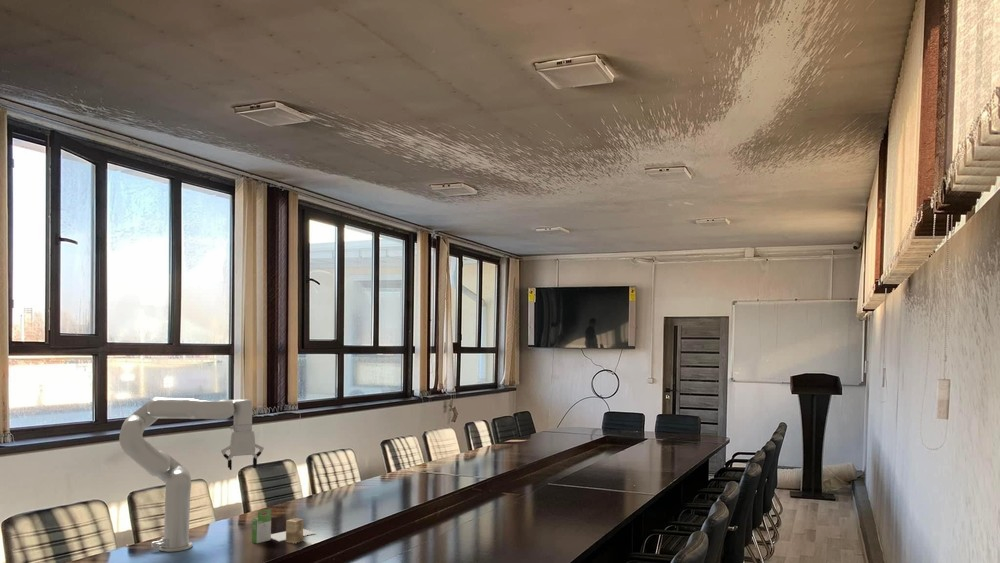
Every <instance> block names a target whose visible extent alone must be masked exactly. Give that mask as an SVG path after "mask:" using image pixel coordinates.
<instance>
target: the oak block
mask: <svg viewBox="0 0 1000 563" xmlns="http://www.w3.org/2000/svg"><path fill="white" fill-rule="evenodd" d="M285 525H286V526H285V531H286V540H285V542H286V543H289V544H294V543H295V544H298V543H300V541H301V542H304V537H303V529H304V519H302V518H297V517H294V518H291V519H286V523H285ZM297 542H298V543H297Z"/></svg>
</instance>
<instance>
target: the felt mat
mask: <svg viewBox="0 0 1000 563" xmlns="http://www.w3.org/2000/svg"><path fill="white" fill-rule="evenodd" d="M315 533H316V532H314V531H311V530H308V529H306V528H303V536H304V537H308V536H307V535H309V536H312V535H311V534H314V535H316V534H315ZM271 540H274V541H277V542H278V543H280V542H284V541H285V542H286V530H285V531H280V532H276V533H271Z"/></svg>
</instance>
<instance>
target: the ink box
mask: <svg viewBox="0 0 1000 563" xmlns="http://www.w3.org/2000/svg"><path fill="white" fill-rule="evenodd" d="M263 513H265V514H263ZM266 513H267V514H266ZM271 534H272V508H268V509H263V510H258V511H257V517H253V518H252V526H251V542H252V544H261V543H265V542H268V541H271V540H272V539H271Z"/></svg>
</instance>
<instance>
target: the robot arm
mask: <svg viewBox="0 0 1000 563" xmlns="http://www.w3.org/2000/svg"><path fill="white" fill-rule="evenodd" d="M232 416H233V425H230V426H229V430H232V431H231V436H230V440H229V441H230V442H229V445H228V446H226V447H224V448H223V449H221V450H220V452H221V454H222V456H223V457H224V458H225V460H227V468H228V469H229V470H230V471H231V470H232V466H233V463H232V462H233V461H232V458H233V457H238V456H252V457H253V458H252V468H253V469H256V466H258V458H259V457H260V456H261V454H262V453H263V450H264V449H265V448H264V447H263V446H261V445H259V444H257V443H256V437H255V436H256V435H255V431H254V430H253V401H252V400H251V399H250V398H241V399H220V400H200V399H196V398H192V397H162V396H154V397H152V398H151V399H149V400H148V401H147V402H145V404H143V405H141V407H139V408H138V409H136V411H134V412H132V414H130V415H129V416H127V417H126V418H125V420H124V421H123V423H122V425H121V429H120V431H119V445H120V447H121V449H122V450H123V452H124V453H125V454H126V455H127V456H129V458H131V459H132V461H134V462H135V463H136V464H138V465H139V466H140V467H141V468H142V469H143V470H145V471H146V472H147V474H149V475H151V476H153V477H157V478H158V479H159V480H160V481H161V482H163V483H165V492H164V493H165V494H164V495H165V498H164V520H163V521H164V526H163V536H162V537H160V538H161V539H159V540H155V541H151V543H150V546H151V548H154V547H157V548H158V549H159V551H161V552H167V553H169V552H181V551H185V550H189V549H191V548H192V547H193V542H192V541H189V540H190V538H189V537H190V516H191V514H190V511H191V492H192V477H191V474H190V472H189V471H188V469H187V468H186V467H185V466H183V465H182V464H181V463H180V462H179V461H178V460H176V459H175V458H174V457H173V456H171V455H170V454H169V453H167V452H165V451H163V450H158V449H157V448H156V447H154V446H153V445H152V444H151V443H149V441H147V440H146V439H145V438H144V437H143V436H144V435H143V434H144V432H145V430H146V429H147V428H149V427H150V426H152V424H154V423H156V421H158V419H159V420H160V419H161V420H162V419H167V420H168V419H180V420H181V419H185V420H186V419H187V420H188V419H190V420H227V419H230V418H231V417H232ZM256 449H258V452H256ZM227 451H229V453H230V454H229V455H228V454H227V453H226V452H227Z"/></svg>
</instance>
